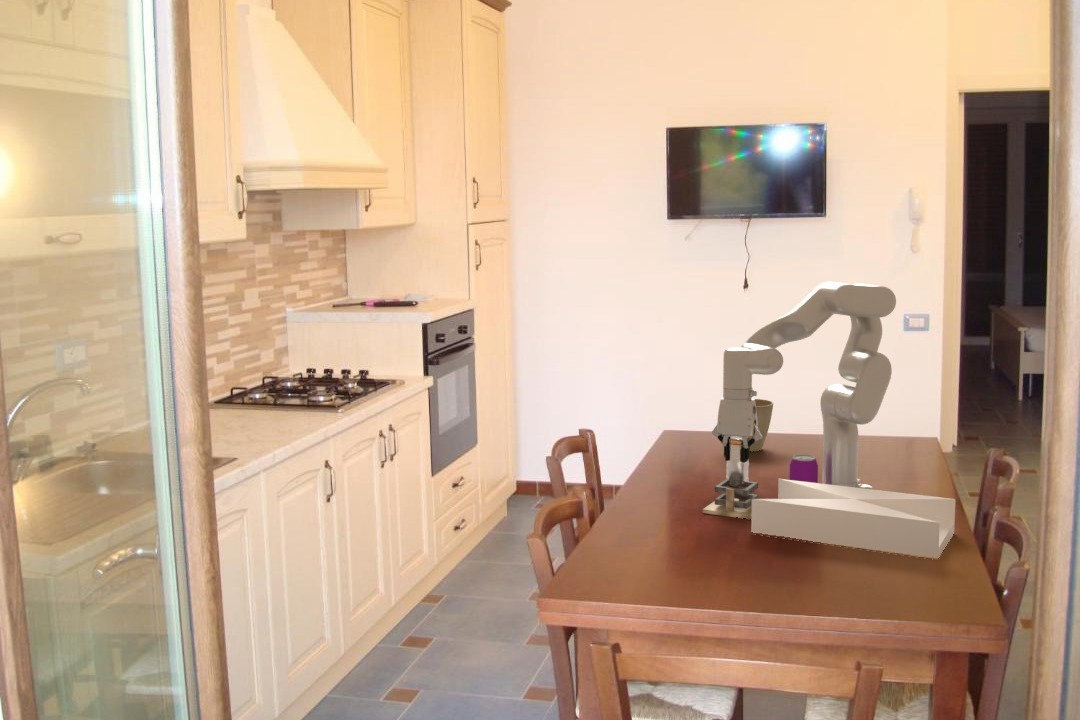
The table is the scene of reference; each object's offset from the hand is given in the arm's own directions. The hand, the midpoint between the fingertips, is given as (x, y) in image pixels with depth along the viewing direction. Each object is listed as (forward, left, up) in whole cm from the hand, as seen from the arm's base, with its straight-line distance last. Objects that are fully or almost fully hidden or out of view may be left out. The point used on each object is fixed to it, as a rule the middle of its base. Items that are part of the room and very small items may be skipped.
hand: (736, 460), depth 293 cm
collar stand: (0, 0, -14) cm, 14 cm away
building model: (-33, +7, -14) cm, 37 cm away
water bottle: (+9, -26, -14) cm, 31 cm away
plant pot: (+20, -68, -14) cm, 72 cm away
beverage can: (-13, -18, -14) cm, 26 cm away
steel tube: (0, 0, -6) cm, 6 cm away
